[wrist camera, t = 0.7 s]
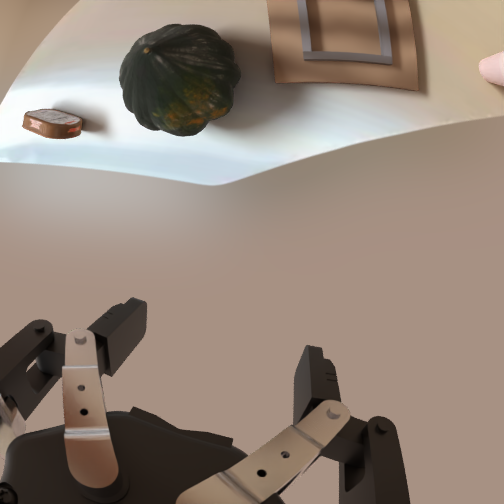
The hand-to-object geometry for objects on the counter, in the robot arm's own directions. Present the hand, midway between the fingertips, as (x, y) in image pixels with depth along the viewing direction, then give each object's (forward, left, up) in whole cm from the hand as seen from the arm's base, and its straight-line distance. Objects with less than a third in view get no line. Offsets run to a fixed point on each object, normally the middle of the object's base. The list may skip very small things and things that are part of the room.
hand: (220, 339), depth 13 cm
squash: (-14, -12, -29) cm, 35 cm away
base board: (-21, +8, -29) cm, 37 cm away
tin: (-15, -40, -29) cm, 52 cm away
